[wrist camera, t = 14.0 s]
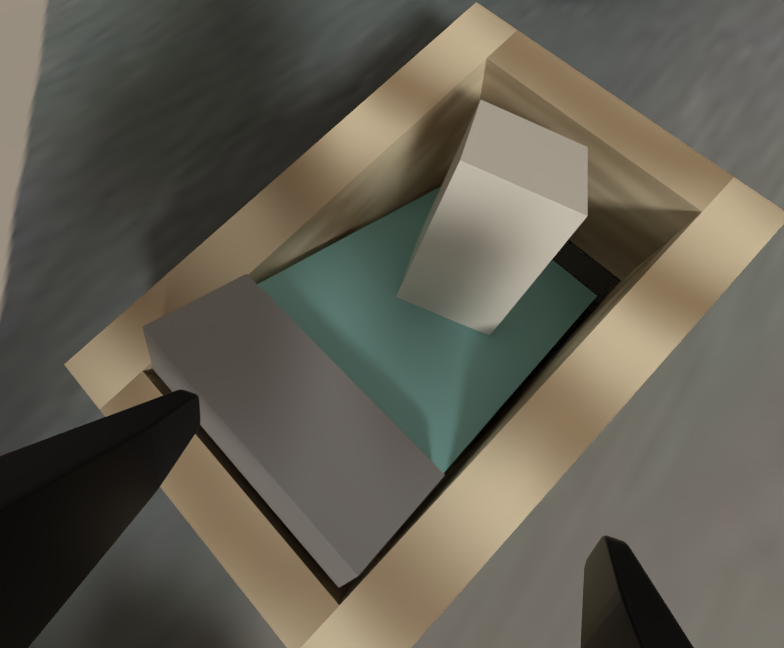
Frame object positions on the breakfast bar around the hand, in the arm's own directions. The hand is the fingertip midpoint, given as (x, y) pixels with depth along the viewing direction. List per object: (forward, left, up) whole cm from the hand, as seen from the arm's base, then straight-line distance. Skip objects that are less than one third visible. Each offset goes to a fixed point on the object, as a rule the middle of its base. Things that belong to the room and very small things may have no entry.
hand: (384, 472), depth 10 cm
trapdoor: (+4, +4, -10) cm, 11 cm away
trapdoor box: (+5, +4, -13) cm, 15 cm away
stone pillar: (+7, +4, -10) cm, 13 cm away
